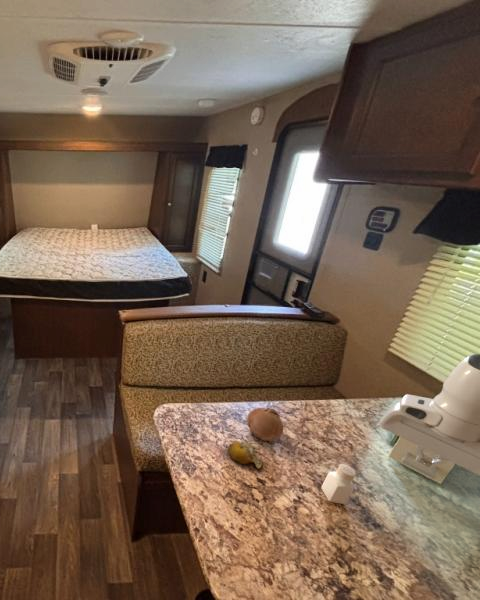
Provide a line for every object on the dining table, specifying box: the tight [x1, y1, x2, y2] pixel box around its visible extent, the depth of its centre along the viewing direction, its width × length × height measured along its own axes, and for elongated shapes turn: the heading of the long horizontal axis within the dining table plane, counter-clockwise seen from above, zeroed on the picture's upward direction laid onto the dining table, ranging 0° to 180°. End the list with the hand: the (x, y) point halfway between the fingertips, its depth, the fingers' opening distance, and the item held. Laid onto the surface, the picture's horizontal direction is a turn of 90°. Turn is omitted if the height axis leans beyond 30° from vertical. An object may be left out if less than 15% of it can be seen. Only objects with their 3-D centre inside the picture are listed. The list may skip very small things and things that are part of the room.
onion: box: [246, 407, 284, 442], centre depth 94 cm, size 10×9×10 cm
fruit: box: [227, 441, 263, 470], centre depth 87 cm, size 8×8×4 cm
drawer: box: [388, 437, 456, 485], centre depth 86 cm, size 18×10×8 cm, turn 129°
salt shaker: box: [321, 463, 357, 505], centre depth 76 cm, size 4×4×10 cm
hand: (424, 463), depth 76 cm, fingers closed
